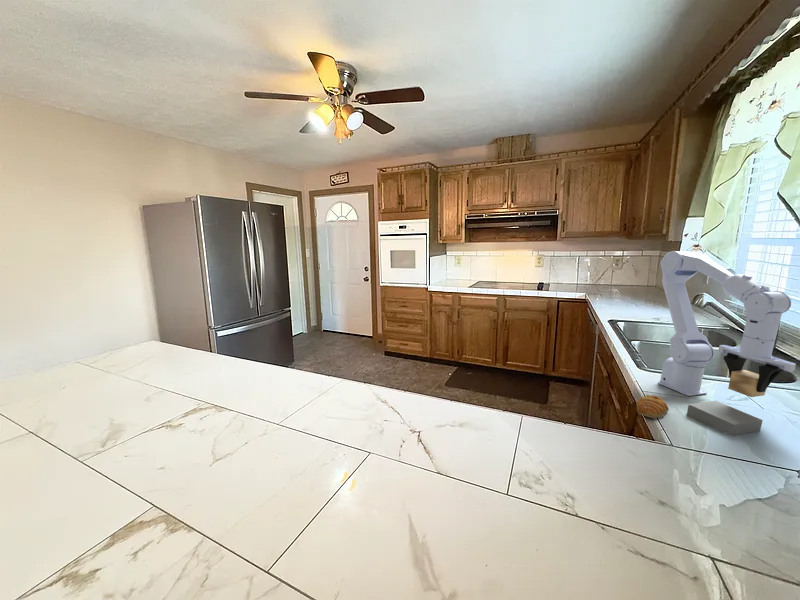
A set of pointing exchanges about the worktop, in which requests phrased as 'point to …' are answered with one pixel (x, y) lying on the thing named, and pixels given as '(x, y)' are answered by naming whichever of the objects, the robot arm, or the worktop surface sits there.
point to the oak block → (745, 383)
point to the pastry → (652, 406)
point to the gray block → (724, 418)
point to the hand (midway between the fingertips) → (746, 386)
